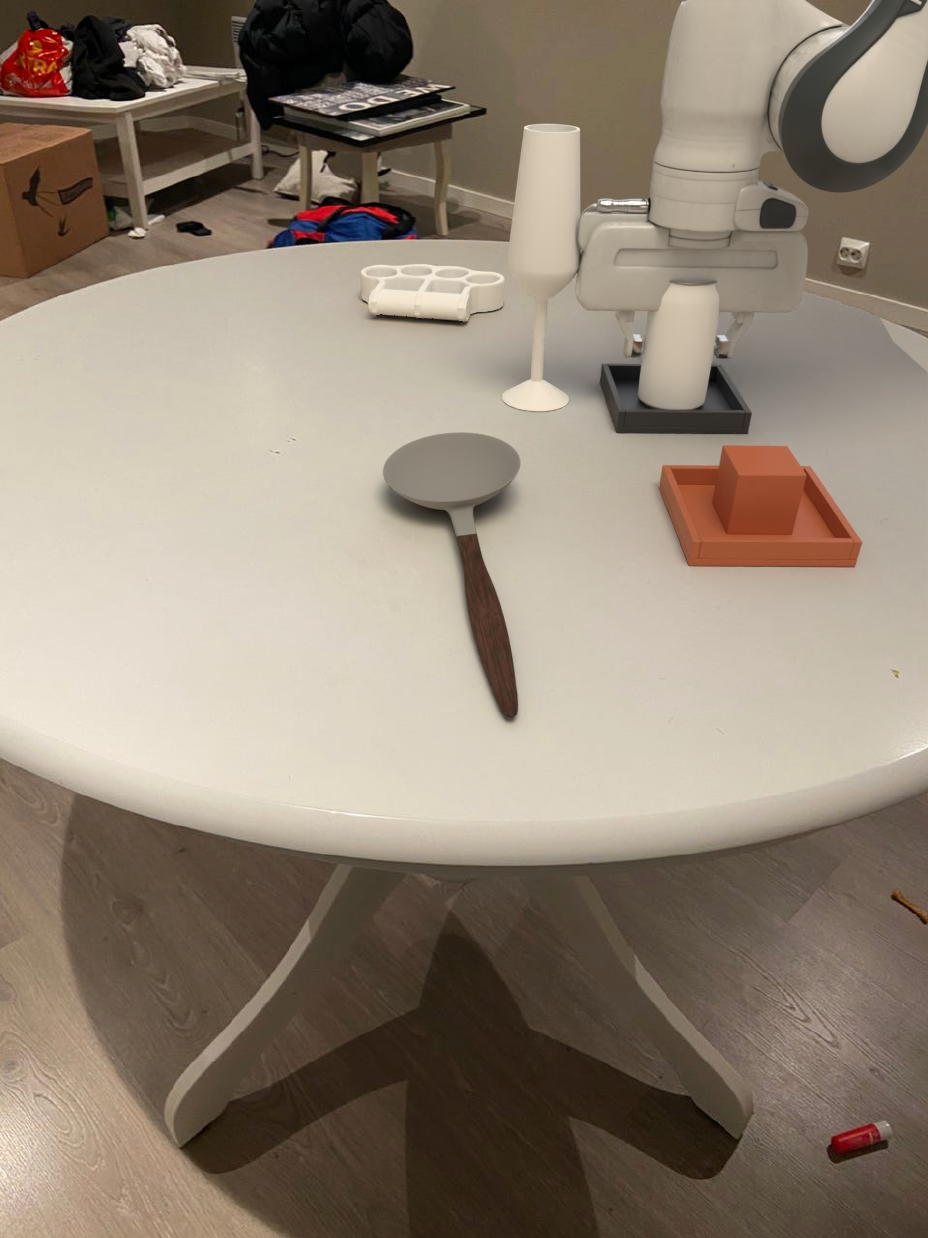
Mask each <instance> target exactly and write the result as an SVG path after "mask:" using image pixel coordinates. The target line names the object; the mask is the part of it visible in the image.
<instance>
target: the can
mask: <svg viewBox="0 0 928 1238" xmlns="http://www.w3.org/2000/svg"><path fill="white" fill-rule="evenodd" d="M669 282H671V284H670V287H669V288H668V290H667V291H666V293H665V294H664V295H663V297H662V300H661V305H660V308H659V310H658V311H647V316H646V324H645V333H644V339H643V348H642V355H641V362H640V364H641V372H640V380H639V389H638V397H639V399H640V400H641V402H642V403H643V404H644V405H646V406H647V407H649V408H651V409H657V410H696V409H698V408H699V407H700V406H701V405H702V404H703V403H704V402H705V398H706V392H707V387H708V381H709V375H710V369H711V364H712V363H713V357H714V346H715V345H716V342H715V340H716V335H718V334H717V333H718V327H719V321H720V315H721V312H719V299H720V298H719V295H718V293H717V290H716V287H715V283H717V281H714V282H710V283H682V282H676V281H671V280H670V281H669Z"/></svg>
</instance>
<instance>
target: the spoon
mask: <svg viewBox="0 0 928 1238" xmlns="http://www.w3.org/2000/svg"><path fill="white" fill-rule="evenodd" d="M520 468H521V456H520V454H519V453H518V451H517V450H516V449H515V448H514V447H513V446H512V445H511V444H509V443H508V442H507V441H504V440H502V439H501V438H497V437H495V436H492V435H487V434H482V433H475V432H462V431H461V432H444V433H438V434H431V435H428V436H424V437H421V438H418V439H416V440H415V439H414V440H412V441H410V442H408V443H406V444H404V445H401V447H399V448H397V449H396V450H395V451H393V452H392V454H390V456H389V457H388V458H387V459H386V460H385V462H384V465H383V469H382V476H383V478H384V481H385V483H386V484H387V486H389V487H390V489H391V490H393V491H394V492H396V494H398V496H399V495H400V497H402V498H404V499H406V500H407V501H409V502H411V503H414V504H416V505H419V506H422V507H425V508H428V509H433V510H439V511H446V512H447V514H448V516H449V517H450V519H451V523H452V527H453V530H454V533H455V538H456V542H457V546H458V549H459V553H460V558H461V564H462V569H463V580H464V581H463V583H464V591H465V599H466V605H467V610H468V616H469V620H470V624H471V628H472V633H473V636H474V639H475V644H476V646H477V651H478V653H479V657H480V659H481V662H482V665H483V668H484V670H485V673H486V676H487V679H488V681H489V684H490V686H491V688H492V692H493V694H494V696H495V699H496V701H497V703H498V705H499V708H500V710H501V711H502V713H503V714H504V715H505V716H506V717H507V718H514V717H516V716H517V715H518V712H519V697H518V687H517V679H516V672H515V671H516V670H515V664H514V657H513V651H512V645H511V640H510V636H509V631H508V628H507V623H506V620H505V619H506V618H505V616H504V612H503V609H502V605H501V602H500V598H499V596H498V593H497V590H496V587H495V585H494V583H493V581H492V578H491V576H490V573H489V571H488V569H487V565H486V563H485V560H484V557H483V554H482V550H481V545H480V541H479V537H478V532H477V528H476V524H475V518H474V508H475V507H476V506H478V505H480V504H484V503H485V502H487V501H489V500H490V499H492V498H494V497H495V496H497V495H498V494H500V493H501V492H502V491H504V490H505V489H506V488H508V486H509V485H510V484H511V483H512V482H513V481H514V479H515V478H516V477H517V475H518V474H519V471H520V470H521V469H520Z"/></svg>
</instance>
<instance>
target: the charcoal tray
mask: <svg viewBox="0 0 928 1238" xmlns="http://www.w3.org/2000/svg"><path fill="white" fill-rule="evenodd" d="M640 372H641V363H610V362H609V363H601V368H600V377H599V385H600V388H601V391H602V394H603V396H604V400H605V403H606V406H607V409H608V411H609V414H610V417H611V420H612V423H613V427H614V429H615V433H616V434H620V433H621V434H715V435H716V434H722V435H723V434H725V435H727V434H729V435H733V434H734V435H748V434H749V430H750V424H751V420H752V414H753V412H752V411H751V409H750V408H749V406H748V404H747V403H746V401H745V400H744V398H743V396H742V395H741V393H740V392H739V390H738V388H737V387H736V386H735V384H734V382H733V381H732V379H731V378H730V376H729V374H728V373H727V371H726V370H725V369H724V367H723V365H722V364H712V363H711V369H710V375H709V381H708V387H707V392H706V398H705V402H704V403H703V404H702V405H701V406H700V407H699V408H698V409H696V410H657V409H651V408H649V407H647V406H646V405H644V404H643V403H642V402H641V400H640V399H639V397H638V389H639V380H640Z"/></svg>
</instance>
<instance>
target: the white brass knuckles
mask: <svg viewBox="0 0 928 1238" xmlns="http://www.w3.org/2000/svg"><path fill="white" fill-rule="evenodd" d="M359 274H360V275H359V276H360V295H361V294H362V295H364V296H366V297H368V298H369V302H368V303H367V305H368V306H367V309H368V312H369V313H370V314H372V315H373V316H376V315H379V314H382V316H394V315H395V316H396V317H406V316H407V318H416V319H417V318H422V319H432V318H433V320H445V321H446V320H448V321H459V322H460V321H463V322H462V323H465V322H468V321H469V320H470V318H469V317H471V315H470V314H471V311H473V310H476V309H486V308H492V307H495V306H498V305H500V304H501V303H503V301H504V302H505V286H506V285H505V284H506V283H505V282H506V279H505V276H503V275H502V274H501V273H498V272H495V271H481V270H473V269H469V268H467V267H463V266H456V265H433V264H427V263H410V264H403V265H389V264H373V265H370V266H366V267H364V268H362V269H361V271H360V273H359ZM468 319H469V320H468Z"/></svg>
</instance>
